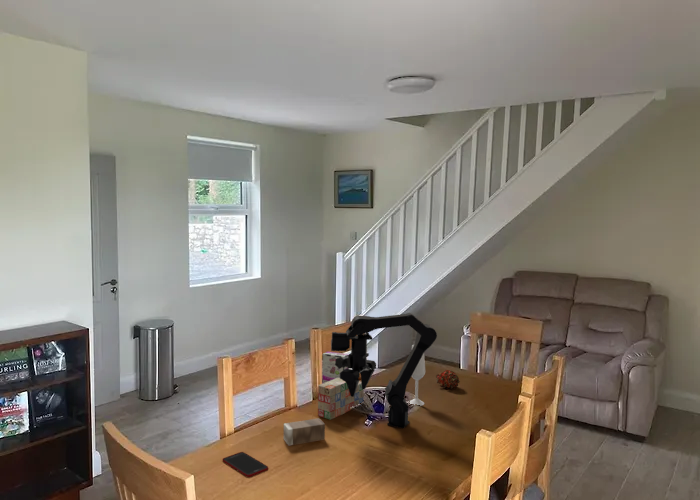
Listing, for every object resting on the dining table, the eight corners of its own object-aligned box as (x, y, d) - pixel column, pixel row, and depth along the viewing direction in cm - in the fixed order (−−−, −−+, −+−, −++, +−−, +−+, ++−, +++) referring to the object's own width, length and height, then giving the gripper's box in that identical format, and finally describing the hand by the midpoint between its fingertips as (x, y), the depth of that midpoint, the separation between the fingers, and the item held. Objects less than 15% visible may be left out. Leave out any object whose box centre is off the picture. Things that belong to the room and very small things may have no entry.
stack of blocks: (351, 400, 221) (352, 371, 220) (363, 404, 217) (364, 374, 216) (317, 416, 204) (317, 384, 203) (330, 420, 201) (330, 388, 200)
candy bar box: (349, 391, 233) (350, 354, 231) (343, 394, 228) (344, 357, 227) (327, 386, 238) (327, 350, 236) (321, 390, 233) (321, 353, 232)
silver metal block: (319, 418, 188) (283, 423, 183) (324, 424, 183) (288, 429, 178) (318, 433, 188) (283, 439, 183) (324, 439, 183) (288, 445, 178)
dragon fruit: (458, 395, 235) (437, 391, 244) (466, 380, 240) (445, 377, 249) (449, 381, 232) (428, 378, 241) (458, 367, 237) (437, 364, 246)
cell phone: (242, 454, 172) (242, 451, 172) (269, 470, 162) (269, 467, 162) (221, 461, 167) (221, 458, 167) (248, 479, 156) (248, 475, 156)
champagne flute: (423, 406, 216) (425, 348, 214) (407, 405, 217) (408, 347, 215) (424, 400, 222) (426, 344, 221) (408, 399, 224) (410, 343, 222)
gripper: (351, 342, 206) (350, 382, 208) (327, 353, 190) (326, 396, 191) (377, 346, 201) (376, 386, 203) (354, 358, 185) (353, 402, 186)
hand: (358, 392), depth 196 cm, fingers open, 9 cm apart
